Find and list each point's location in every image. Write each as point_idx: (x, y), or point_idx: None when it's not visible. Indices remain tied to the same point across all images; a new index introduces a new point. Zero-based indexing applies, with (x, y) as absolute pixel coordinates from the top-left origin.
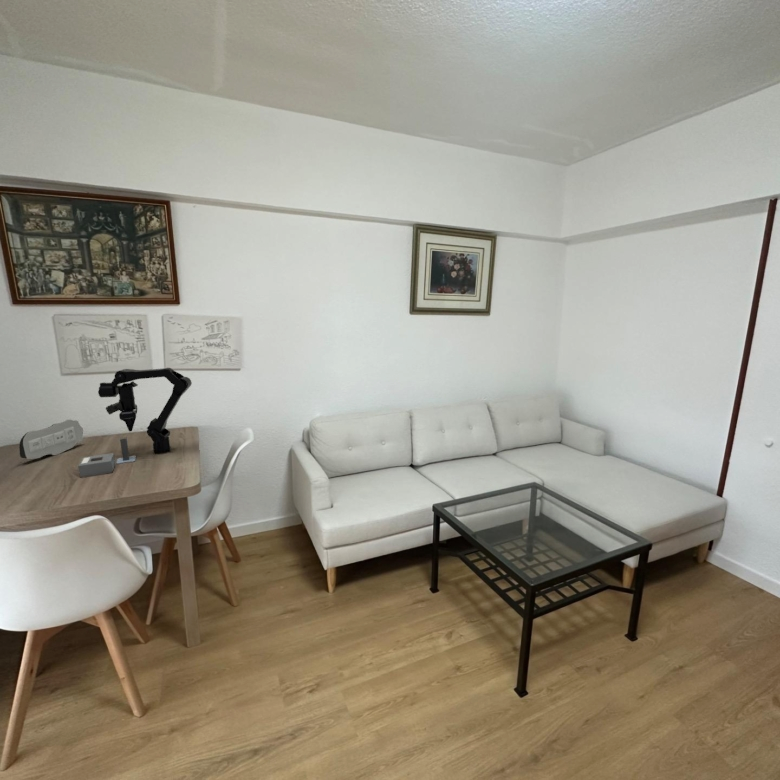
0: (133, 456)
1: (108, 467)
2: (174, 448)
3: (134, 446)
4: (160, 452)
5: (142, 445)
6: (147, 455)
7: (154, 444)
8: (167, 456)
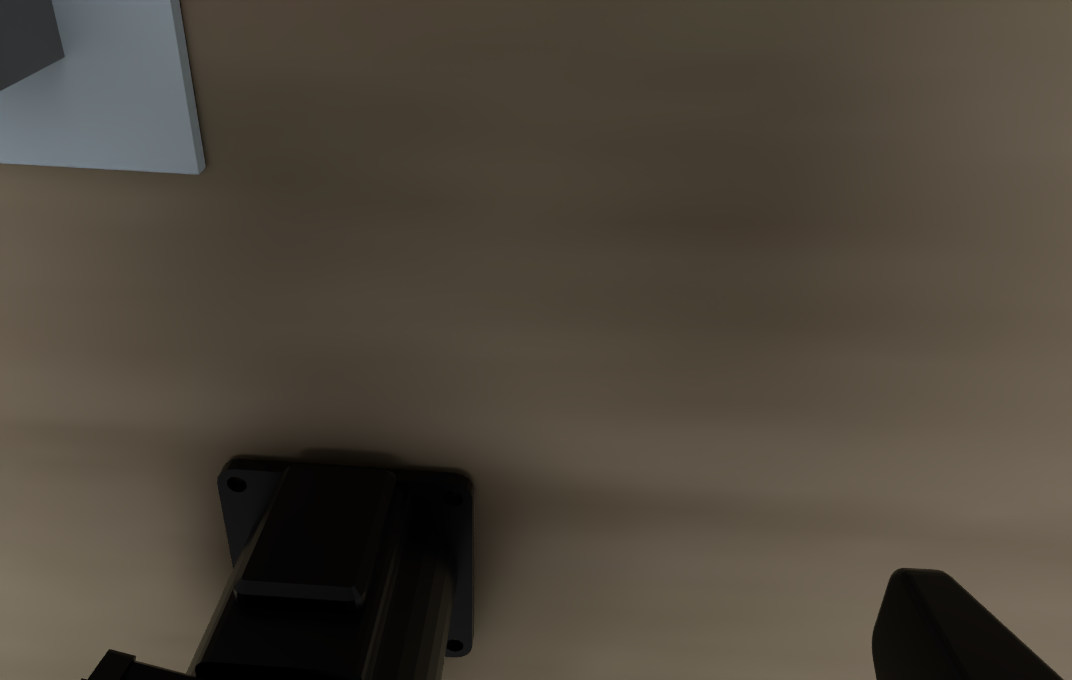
0: (162, 131)
1: None
2: None
3: (1037, 142)
4: (227, 532)
5: (978, 293)
6: (201, 350)
7: (236, 588)
8: (41, 578)
